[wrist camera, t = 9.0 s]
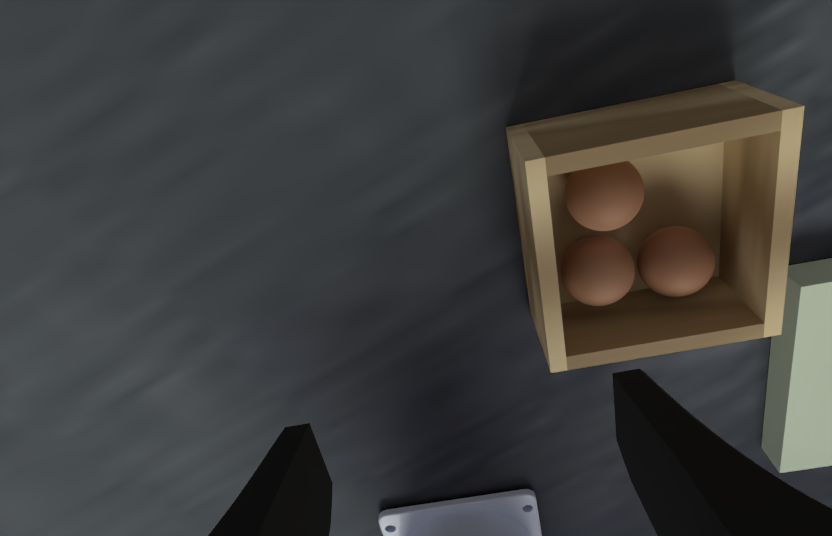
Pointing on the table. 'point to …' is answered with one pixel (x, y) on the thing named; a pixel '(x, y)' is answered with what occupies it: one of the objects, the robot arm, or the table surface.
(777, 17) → the table surface
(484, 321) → the table surface
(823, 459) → the lid
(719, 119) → the box
